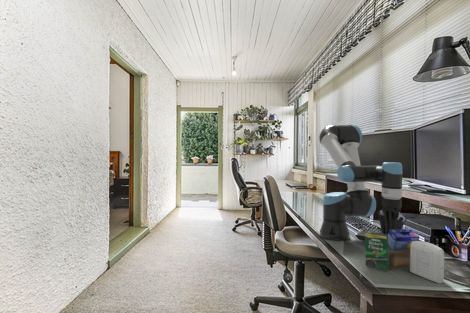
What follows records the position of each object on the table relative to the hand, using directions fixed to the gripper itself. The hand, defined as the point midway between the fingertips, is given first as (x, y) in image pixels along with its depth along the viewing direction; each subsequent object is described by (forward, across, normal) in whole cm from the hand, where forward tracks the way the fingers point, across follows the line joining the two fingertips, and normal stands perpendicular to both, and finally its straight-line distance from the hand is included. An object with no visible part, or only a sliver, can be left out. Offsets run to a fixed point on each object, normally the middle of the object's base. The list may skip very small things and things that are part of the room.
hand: (390, 251), depth 112 cm
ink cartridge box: (+1, +3, 0) cm, 3 cm away
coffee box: (+2, +7, -15) cm, 17 cm away
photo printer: (+2, +19, -5) cm, 20 cm away
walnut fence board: (+1, +10, -1) cm, 10 cm away
